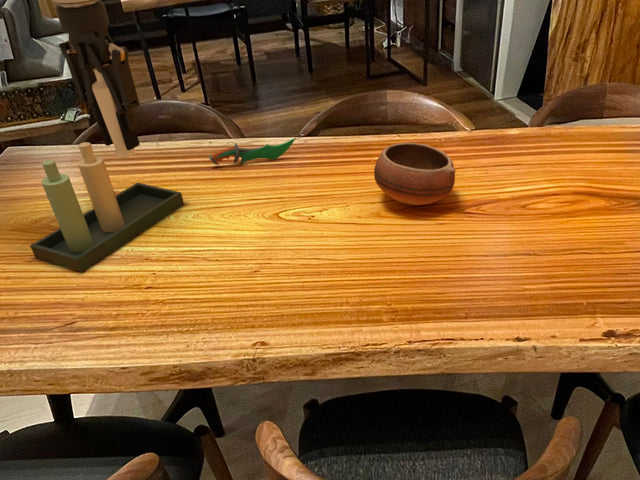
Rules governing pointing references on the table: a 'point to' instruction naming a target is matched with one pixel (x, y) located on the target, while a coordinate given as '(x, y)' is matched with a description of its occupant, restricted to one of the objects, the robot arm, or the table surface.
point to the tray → (138, 214)
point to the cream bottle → (100, 189)
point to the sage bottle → (66, 208)
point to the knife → (251, 152)
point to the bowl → (414, 173)
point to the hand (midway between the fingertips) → (122, 144)
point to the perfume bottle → (110, 115)
